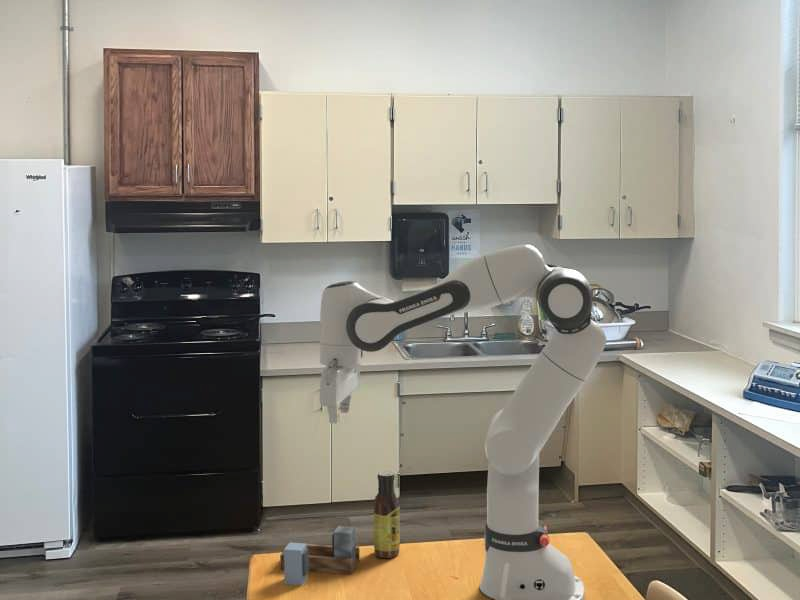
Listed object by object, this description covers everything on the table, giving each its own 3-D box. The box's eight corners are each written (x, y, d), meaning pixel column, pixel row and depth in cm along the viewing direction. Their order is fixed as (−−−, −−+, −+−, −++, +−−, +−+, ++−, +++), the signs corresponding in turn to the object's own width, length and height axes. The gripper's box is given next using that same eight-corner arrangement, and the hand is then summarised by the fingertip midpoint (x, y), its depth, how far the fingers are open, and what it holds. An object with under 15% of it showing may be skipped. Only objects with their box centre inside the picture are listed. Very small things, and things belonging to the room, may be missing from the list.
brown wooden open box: (359, 561, 207) (358, 524, 206) (351, 574, 199) (351, 536, 198) (290, 556, 210) (289, 520, 209) (280, 569, 202) (279, 531, 201)
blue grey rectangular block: (310, 577, 198) (309, 543, 197) (304, 585, 194) (303, 550, 193) (290, 576, 199) (289, 542, 198) (284, 583, 195) (283, 549, 194)
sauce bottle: (396, 560, 207) (395, 478, 205) (371, 558, 208) (369, 477, 206) (402, 549, 213) (401, 470, 211) (377, 547, 214) (376, 469, 212)
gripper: (341, 364, 180) (341, 430, 182) (365, 348, 200) (364, 407, 202) (312, 363, 181) (312, 428, 183) (338, 347, 201) (338, 405, 203)
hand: (339, 417), depth 193 cm, fingers open, 8 cm apart
